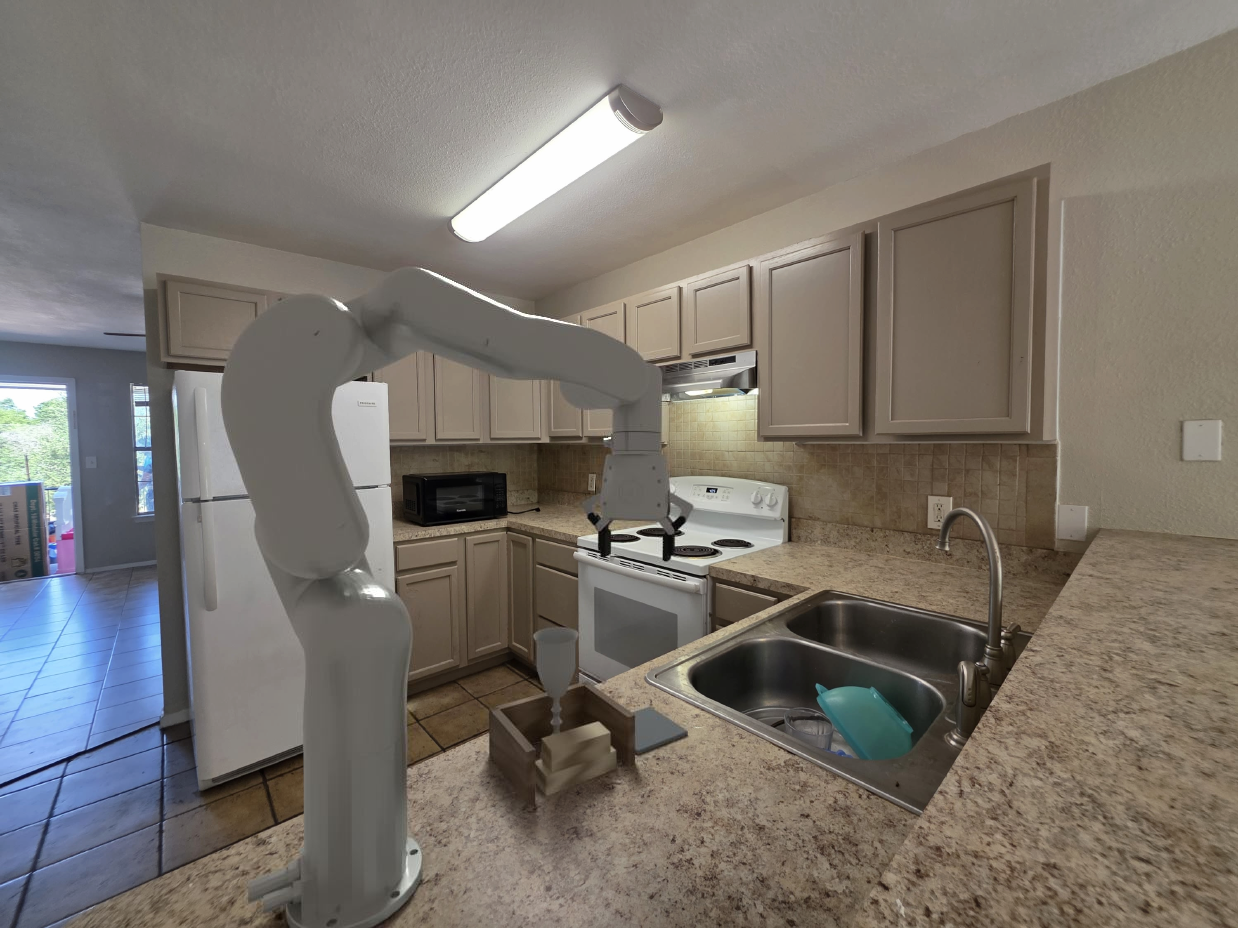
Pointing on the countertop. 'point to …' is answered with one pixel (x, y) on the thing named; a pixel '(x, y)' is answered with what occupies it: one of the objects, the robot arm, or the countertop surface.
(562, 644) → the chalice
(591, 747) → the offcut upper
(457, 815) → the countertop surface
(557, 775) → the offcut lower
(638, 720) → the slate tile
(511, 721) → the brown wooden u-shaped frame
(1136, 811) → the countertop surface
